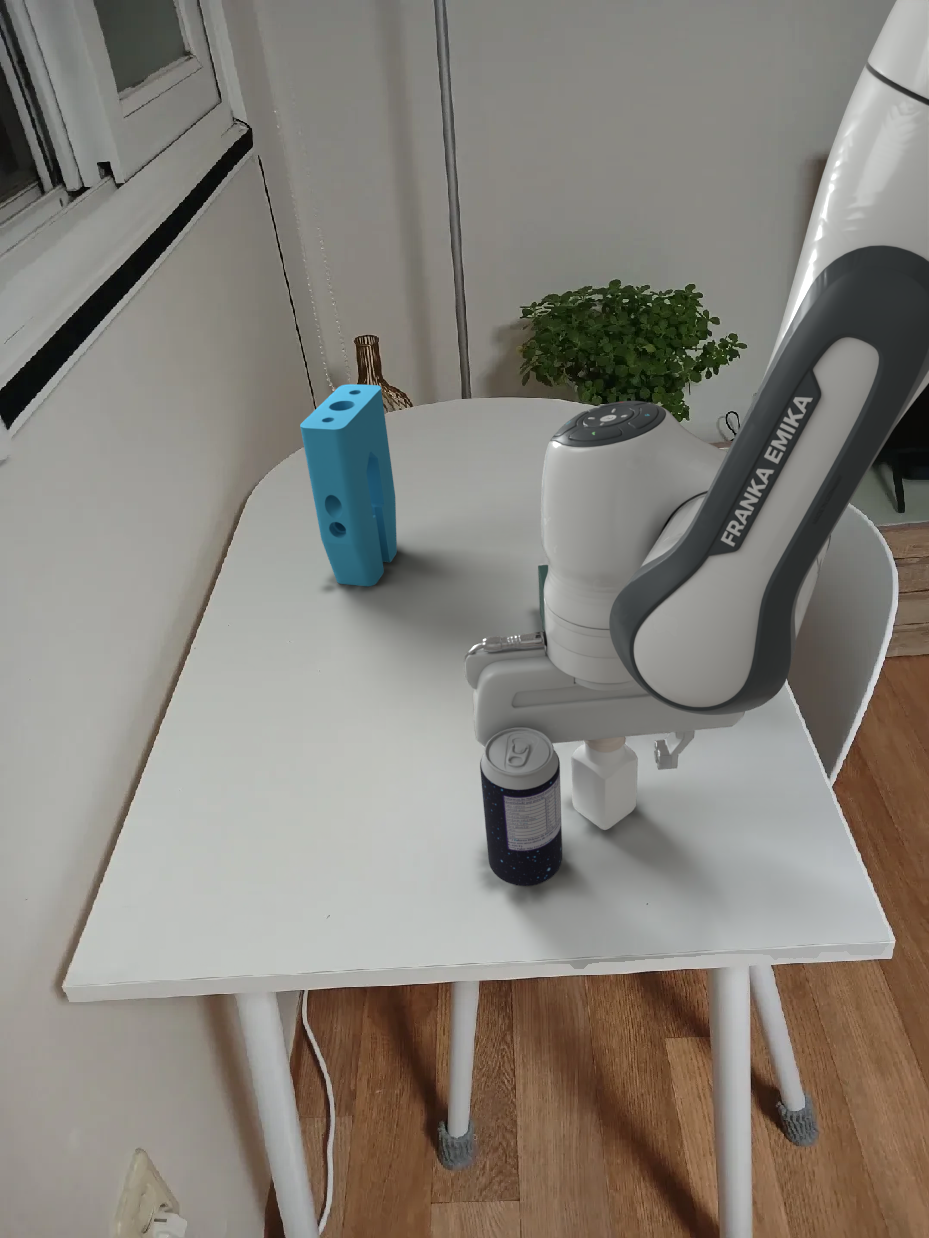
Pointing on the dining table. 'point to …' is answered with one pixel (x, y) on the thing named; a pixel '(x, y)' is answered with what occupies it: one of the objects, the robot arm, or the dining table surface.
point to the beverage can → (522, 806)
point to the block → (352, 482)
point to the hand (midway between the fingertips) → (606, 769)
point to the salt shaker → (604, 780)
